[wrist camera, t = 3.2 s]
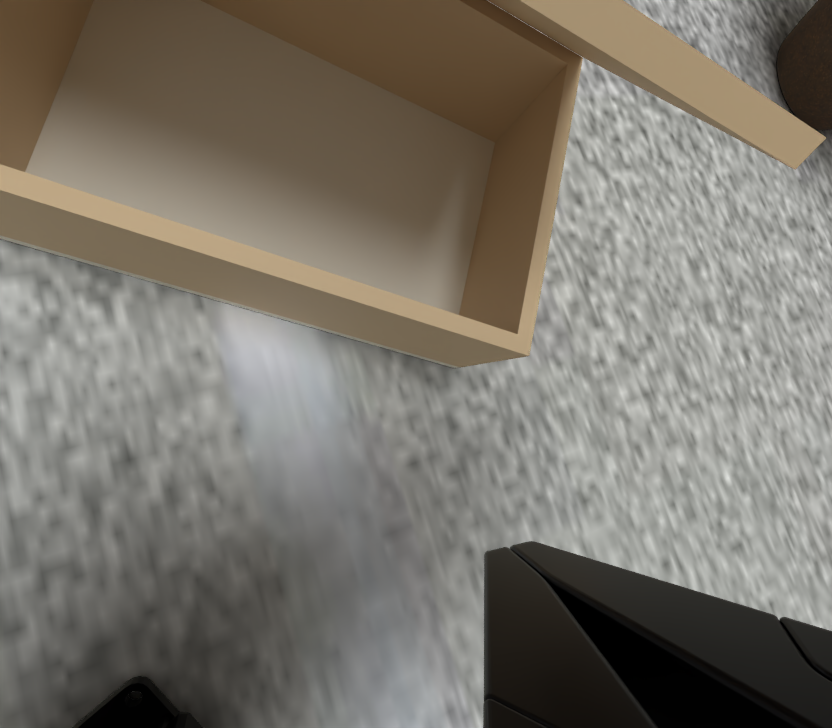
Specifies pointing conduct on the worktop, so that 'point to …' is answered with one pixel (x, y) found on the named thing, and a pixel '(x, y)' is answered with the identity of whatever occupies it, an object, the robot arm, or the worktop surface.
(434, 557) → the worktop surface
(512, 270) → the mailer box
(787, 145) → the mailer lid
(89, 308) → the worktop surface
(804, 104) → the plant pot
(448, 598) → the worktop surface
